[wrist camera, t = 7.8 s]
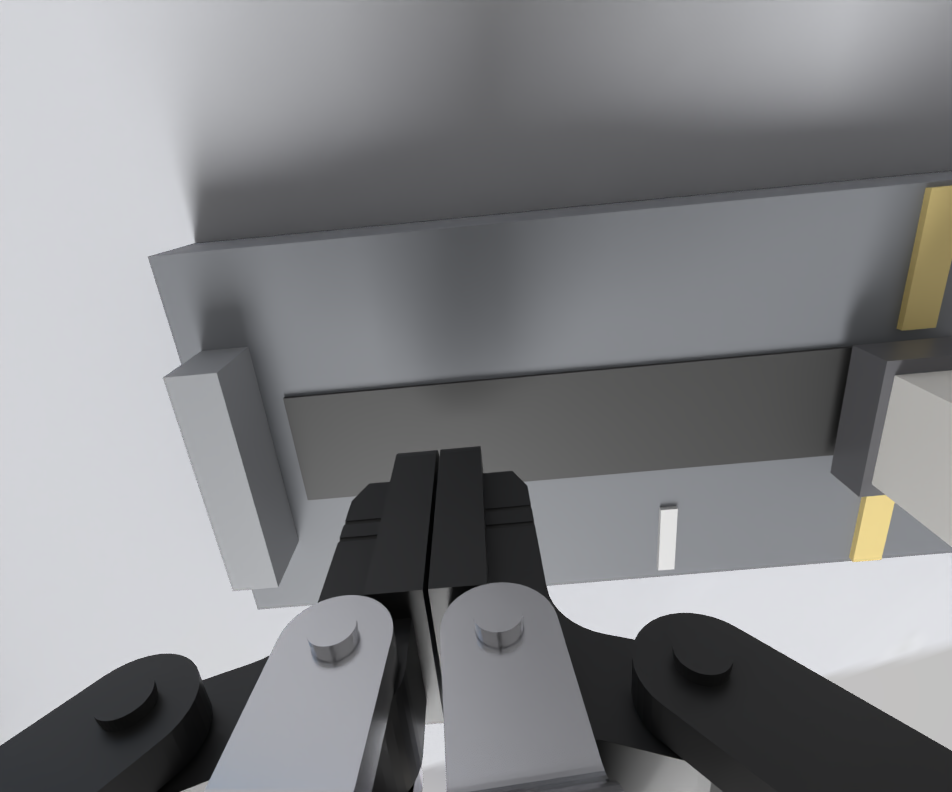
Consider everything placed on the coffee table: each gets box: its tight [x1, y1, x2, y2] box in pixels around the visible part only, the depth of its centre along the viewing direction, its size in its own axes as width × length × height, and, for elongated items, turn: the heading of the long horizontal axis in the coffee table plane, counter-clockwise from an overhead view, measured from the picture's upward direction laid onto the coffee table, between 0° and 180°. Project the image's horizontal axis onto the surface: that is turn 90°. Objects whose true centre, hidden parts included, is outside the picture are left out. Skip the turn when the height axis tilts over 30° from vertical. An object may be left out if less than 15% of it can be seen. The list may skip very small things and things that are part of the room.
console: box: [148, 171, 952, 609], centre depth 13 cm, size 9×21×4 cm, turn 95°
